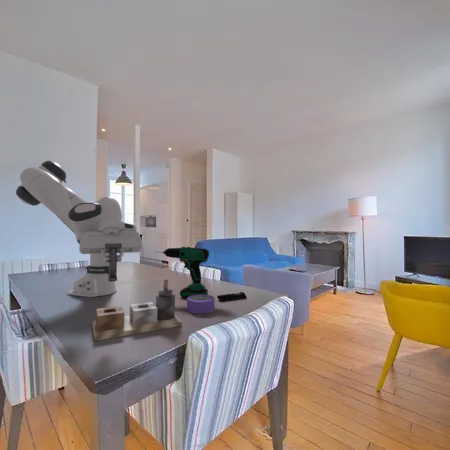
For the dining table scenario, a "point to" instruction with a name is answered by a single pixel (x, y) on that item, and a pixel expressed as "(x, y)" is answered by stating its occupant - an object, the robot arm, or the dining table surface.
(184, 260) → the power drill
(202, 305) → the tape roll
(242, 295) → the electric trimmer
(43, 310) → the dining table surface
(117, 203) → the robot arm
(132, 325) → the stand
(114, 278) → the chuck key
